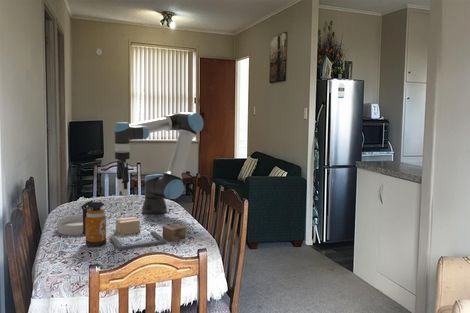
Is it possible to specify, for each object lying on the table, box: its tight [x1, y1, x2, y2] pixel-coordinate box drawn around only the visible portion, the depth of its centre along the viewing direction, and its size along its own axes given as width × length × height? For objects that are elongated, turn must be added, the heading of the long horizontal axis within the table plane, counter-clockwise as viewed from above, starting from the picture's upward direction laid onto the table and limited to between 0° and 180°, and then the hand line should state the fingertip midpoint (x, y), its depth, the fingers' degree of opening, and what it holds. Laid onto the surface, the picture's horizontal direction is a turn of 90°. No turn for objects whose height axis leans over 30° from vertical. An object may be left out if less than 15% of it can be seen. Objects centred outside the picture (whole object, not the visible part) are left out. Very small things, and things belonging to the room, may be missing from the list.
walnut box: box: [162, 223, 187, 243], centre depth 196 cm, size 8×8×6 cm
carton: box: [115, 216, 141, 235], centre depth 207 cm, size 10×8×6 cm
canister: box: [80, 200, 107, 247], centre depth 185 cm, size 9×11×20 cm
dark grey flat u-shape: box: [109, 230, 167, 251], centre depth 191 cm, size 22×18×1 cm
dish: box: [56, 214, 83, 236], centre depth 209 cm, size 22×22×5 cm
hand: (122, 193), depth 214 cm, fingers open, 10 cm apart
